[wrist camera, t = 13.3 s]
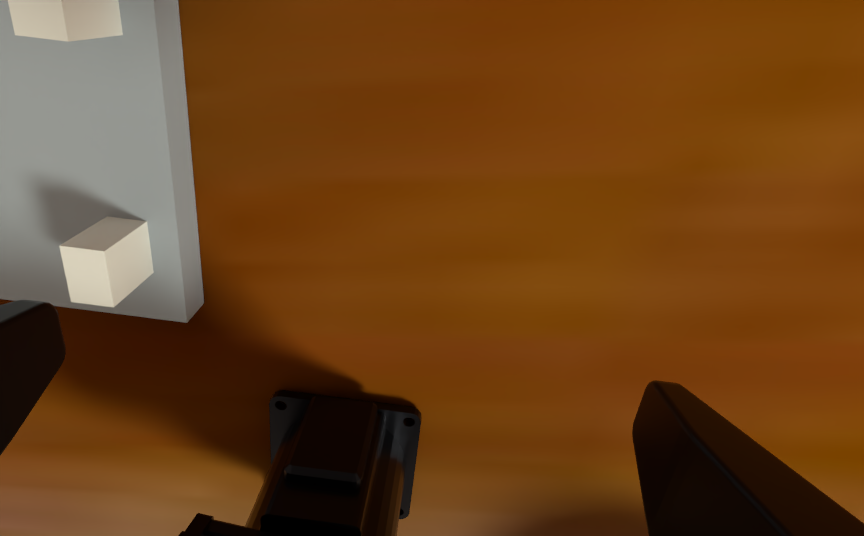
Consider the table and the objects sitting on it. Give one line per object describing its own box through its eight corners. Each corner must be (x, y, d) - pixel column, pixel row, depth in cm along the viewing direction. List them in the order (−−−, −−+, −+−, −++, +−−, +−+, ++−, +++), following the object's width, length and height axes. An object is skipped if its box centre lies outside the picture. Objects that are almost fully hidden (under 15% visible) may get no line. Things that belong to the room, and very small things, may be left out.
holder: (204, 303, 22) (153, 362, 19) (-41, 271, 22) (-138, 324, 19) (168, -113, 16) (81, -143, 13) (-171, -154, 16) (-351, -194, 13)
